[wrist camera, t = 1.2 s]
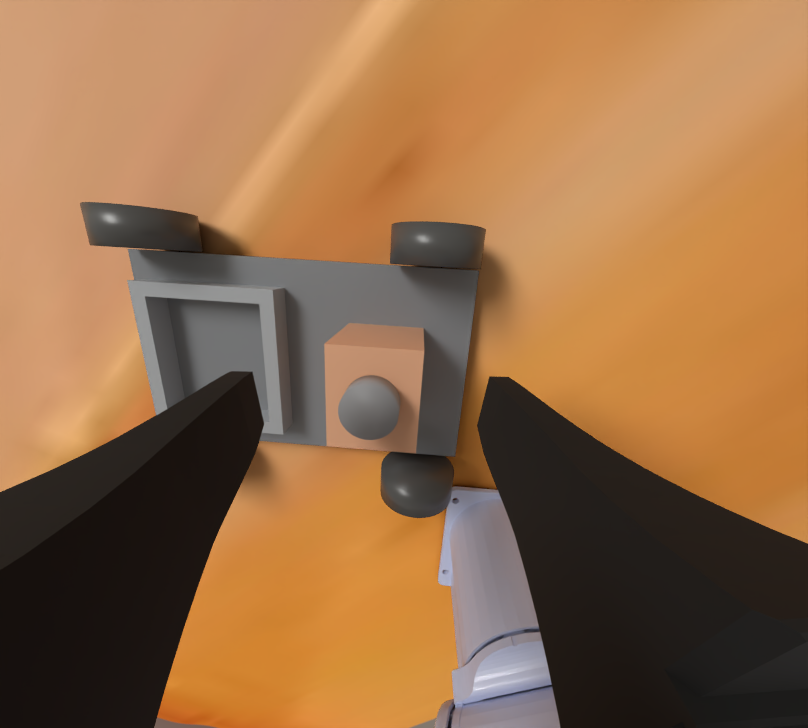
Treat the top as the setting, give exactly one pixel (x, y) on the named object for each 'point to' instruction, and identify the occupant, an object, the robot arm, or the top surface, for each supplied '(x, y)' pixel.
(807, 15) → the top surface
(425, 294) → the chassis
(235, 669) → the top surface
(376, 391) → the block
